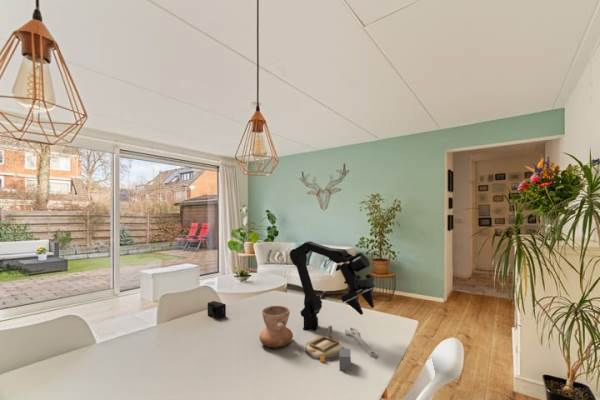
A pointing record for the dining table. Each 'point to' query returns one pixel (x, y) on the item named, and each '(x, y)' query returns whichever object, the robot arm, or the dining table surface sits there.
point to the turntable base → (321, 357)
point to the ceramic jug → (276, 327)
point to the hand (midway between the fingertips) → (367, 310)
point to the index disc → (324, 346)
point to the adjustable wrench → (360, 341)
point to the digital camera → (216, 309)
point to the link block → (345, 359)
